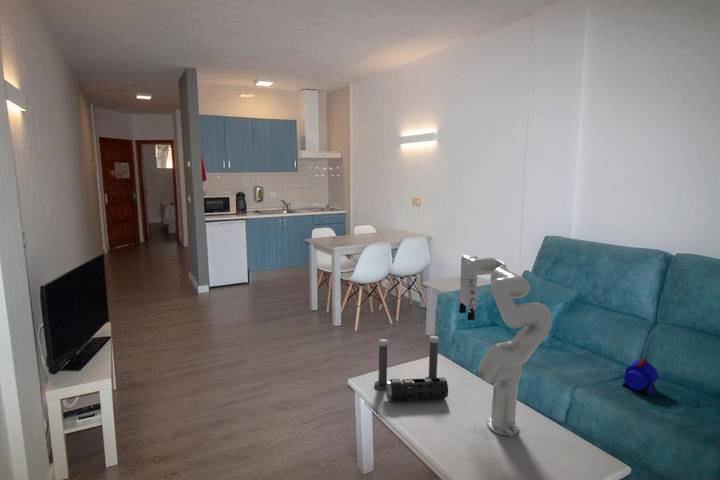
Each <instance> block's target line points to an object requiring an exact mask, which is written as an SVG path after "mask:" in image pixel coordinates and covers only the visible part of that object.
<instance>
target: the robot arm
mask: <svg viewBox="0 0 720 480" xmlns="http://www.w3.org/2000/svg"><path fill="white" fill-rule="evenodd" d="M460 263H461V264H460V277H459V284H460V289H459V293H458V295H459V297H458V300H459V303H458V304H459V305H458V306H459V308H458V309H459V311H458V313H459V314H464V313H466V312H467V321H475V318H476V310H477V305H478V289H477V283H478V276H487V275H490V279H489V280H490V283H491V292H492V296H493V299H494V301H495V303H496V306H497V309H498V311H499V313H500V316H501V318H502V320H503V322H504V324H505V325H507V326H508V327H509V328H512V329H513V328H514V329H517V328H520V330H518V332H517V333H516V334H515V336H514V337H513V338H512V339H511V340H508V341H504V342H497V343H494V344H493V345H491V346H490V347H489V348H488V350H487V351H486V352H485V354H484V355H483V357H482V358H481V360H480V362H479V365H478V374H479V377H480V378H481V380H482V381H483V382H485V383H487V384H493V388H492V400H491V402H492V403H491V413H490V414H491V415H490V417H488V418H487V421H486V424H487V425H486V426H487V427H488V429H489V430H490V431H492V432H493V433H495V434H498V435H500V436H501V435H502V436H509V437H514V435H515V434H518V431H519V425H518V423H517V422H516V414H517V413H516V411H517V400H518V388H519V383H520V379H521V376H522V373H523V372H522V370H523V365H524V364H526V362H527V361H528V360H529V359H530V357H531V356H532V355H533V354H534V353H535V351H536V350H537V348H538V347H539V346H540V344H541V343H542V342H543V341H544V340H545V339H546V337H547V336H548V334H549V332H550V330H551V327H552V320H553V319H552V314H551V313H552V312H551V310H550V309H549V307H548V306H546V305H545V304H543V303H541V302H533V301H532V302H523V303H517V304H516V303H514V301H513V300H514V299H520V298H523V297H526V296H527V295H528V294H529V293H530V291H531V284H530V282H529V281H528V279H526V278H525V277H523V276H521V275H519V274H517V273H515V272H512V271H510V270H509V269H508V267H507V265H506V264H505V262H503V261H502V260H500V259H497V258H494V257H478V256H477V255H473V254H463V255H462V256H461V260H460ZM467 308H468V311H467Z"/></svg>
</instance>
